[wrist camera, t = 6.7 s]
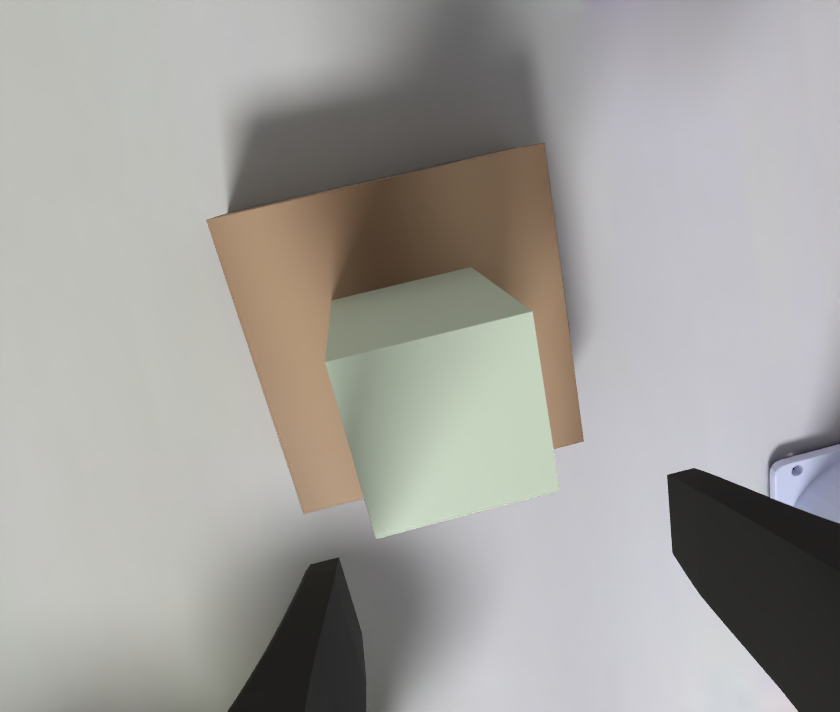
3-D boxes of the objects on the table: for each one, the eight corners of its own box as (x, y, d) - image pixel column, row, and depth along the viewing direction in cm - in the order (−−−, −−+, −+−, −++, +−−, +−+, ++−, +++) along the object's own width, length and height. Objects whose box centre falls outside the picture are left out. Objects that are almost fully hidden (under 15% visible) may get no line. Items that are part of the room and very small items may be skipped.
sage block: (470, 267, 17) (532, 311, 12) (494, 395, 19) (560, 490, 13) (331, 300, 17) (325, 362, 11) (366, 428, 19) (375, 539, 13)
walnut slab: (515, 147, 19) (544, 143, 17) (553, 407, 23) (583, 441, 20) (226, 213, 19) (206, 219, 16) (308, 470, 22) (303, 513, 19)
